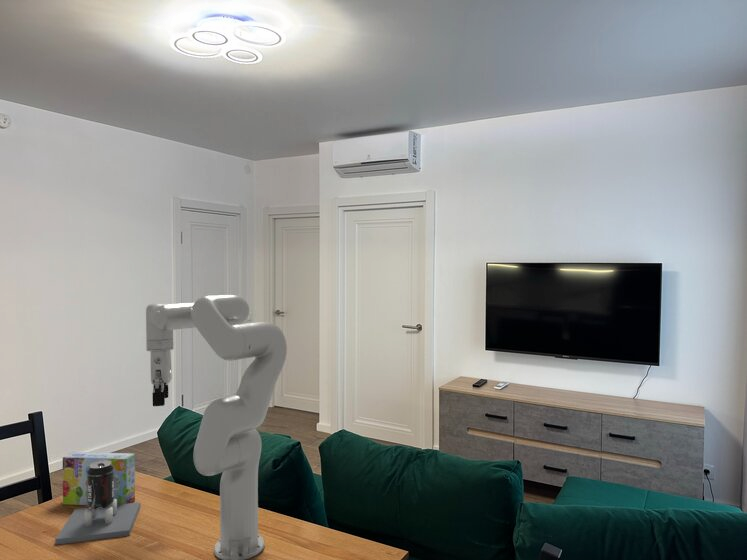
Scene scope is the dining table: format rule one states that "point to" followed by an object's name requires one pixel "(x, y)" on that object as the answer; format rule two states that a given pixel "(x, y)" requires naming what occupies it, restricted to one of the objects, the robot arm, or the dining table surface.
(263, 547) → the robot arm
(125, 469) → the snack box
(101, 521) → the peg stand
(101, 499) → the beverage can
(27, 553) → the dining table surface
